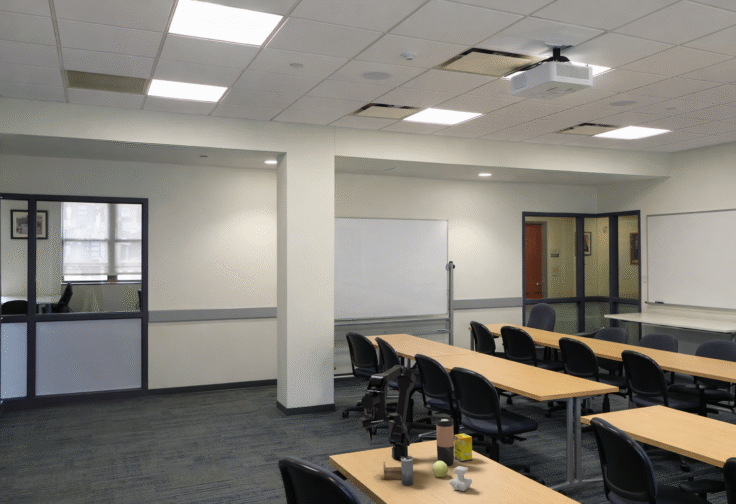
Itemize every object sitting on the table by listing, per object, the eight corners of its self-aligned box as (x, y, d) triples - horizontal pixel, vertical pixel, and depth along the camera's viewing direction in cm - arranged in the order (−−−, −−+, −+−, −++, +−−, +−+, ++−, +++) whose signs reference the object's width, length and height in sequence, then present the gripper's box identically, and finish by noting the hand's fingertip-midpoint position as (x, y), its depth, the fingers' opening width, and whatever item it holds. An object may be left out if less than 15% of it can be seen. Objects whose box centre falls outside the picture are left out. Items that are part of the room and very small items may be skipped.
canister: (410, 480, 245) (409, 454, 246) (415, 484, 241) (415, 458, 241) (399, 482, 244) (398, 456, 244) (404, 486, 239) (403, 460, 239)
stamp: (458, 483, 241) (458, 463, 241) (473, 487, 237) (473, 466, 237) (448, 491, 233) (447, 469, 233) (463, 494, 229) (463, 472, 230)
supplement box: (454, 458, 271) (453, 434, 271) (465, 456, 273) (464, 433, 274) (461, 462, 265) (460, 438, 266) (472, 460, 268) (471, 436, 268)
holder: (383, 470, 258) (383, 461, 258) (408, 469, 258) (408, 461, 258) (384, 479, 247) (384, 470, 247) (410, 478, 247) (410, 470, 247)
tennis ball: (448, 458, 252) (433, 457, 253) (446, 466, 245) (430, 464, 247) (449, 472, 252) (433, 471, 254) (447, 480, 246) (431, 479, 248)
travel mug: (454, 461, 267) (453, 416, 268) (454, 467, 260) (453, 421, 260) (436, 461, 268) (436, 416, 269) (437, 467, 261) (436, 421, 261)
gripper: (390, 397, 270) (391, 431, 270) (352, 402, 263) (353, 437, 263) (401, 402, 260) (402, 438, 260) (362, 408, 253) (363, 444, 253)
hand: (380, 439), depth 259 cm, fingers open, 9 cm apart
